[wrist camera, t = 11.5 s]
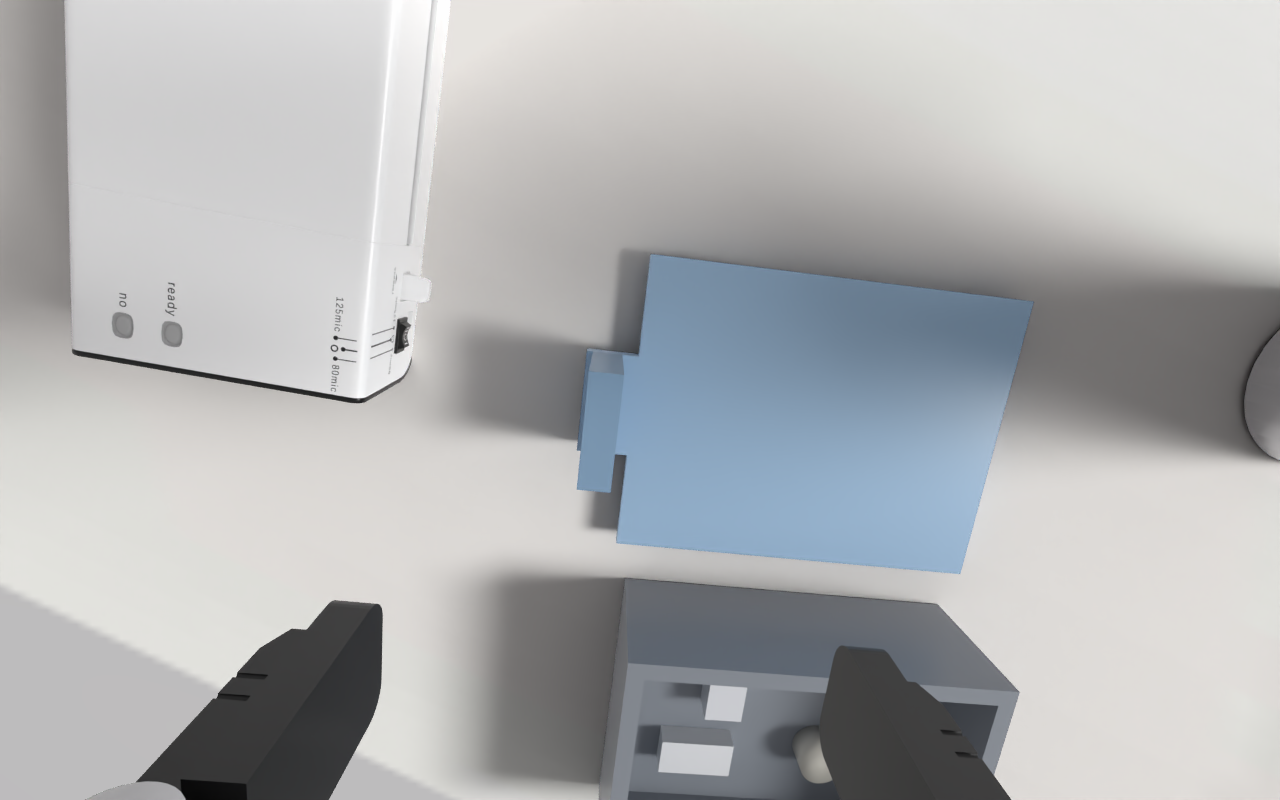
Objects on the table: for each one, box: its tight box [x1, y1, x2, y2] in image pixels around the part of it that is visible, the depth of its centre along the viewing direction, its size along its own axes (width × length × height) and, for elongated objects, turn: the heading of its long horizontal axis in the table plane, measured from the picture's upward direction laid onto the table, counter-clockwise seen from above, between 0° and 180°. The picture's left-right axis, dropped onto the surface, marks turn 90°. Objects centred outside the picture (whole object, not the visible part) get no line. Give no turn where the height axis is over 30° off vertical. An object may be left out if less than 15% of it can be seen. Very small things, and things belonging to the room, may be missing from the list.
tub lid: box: [577, 254, 1034, 574], centre depth 28 cm, size 15×21×7 cm
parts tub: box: [599, 578, 1020, 800], centre depth 31 cm, size 14×18×7 cm
